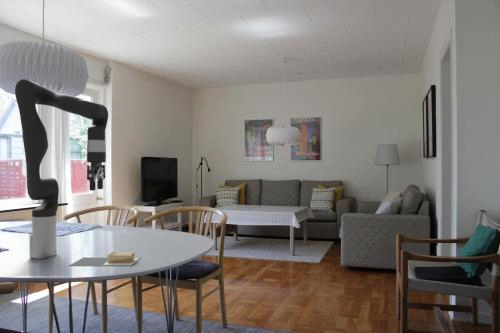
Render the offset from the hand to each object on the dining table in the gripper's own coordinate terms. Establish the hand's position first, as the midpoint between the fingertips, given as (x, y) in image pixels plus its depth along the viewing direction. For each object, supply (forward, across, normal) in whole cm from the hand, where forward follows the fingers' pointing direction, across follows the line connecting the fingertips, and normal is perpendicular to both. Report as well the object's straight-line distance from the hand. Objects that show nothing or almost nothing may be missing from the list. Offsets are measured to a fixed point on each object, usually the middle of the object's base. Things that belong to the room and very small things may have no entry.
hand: (96, 189), depth 175 cm
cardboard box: (+27, -11, -14) cm, 33 cm away
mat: (+28, -11, -8) cm, 31 cm away
